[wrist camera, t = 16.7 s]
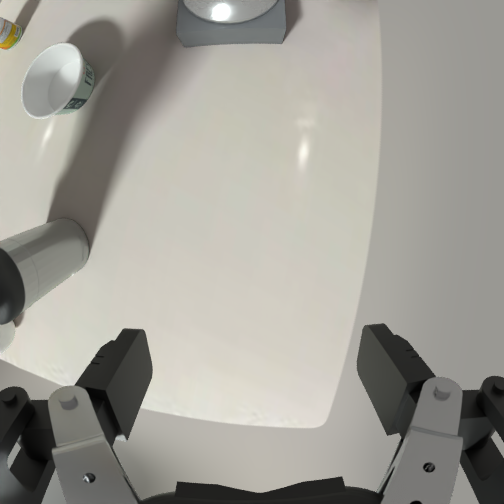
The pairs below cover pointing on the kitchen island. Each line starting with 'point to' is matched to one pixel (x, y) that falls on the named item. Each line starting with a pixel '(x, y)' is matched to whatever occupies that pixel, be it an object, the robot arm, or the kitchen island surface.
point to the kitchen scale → (231, 29)
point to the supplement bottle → (9, 34)
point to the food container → (57, 82)
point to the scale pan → (229, 10)
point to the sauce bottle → (6, 335)
